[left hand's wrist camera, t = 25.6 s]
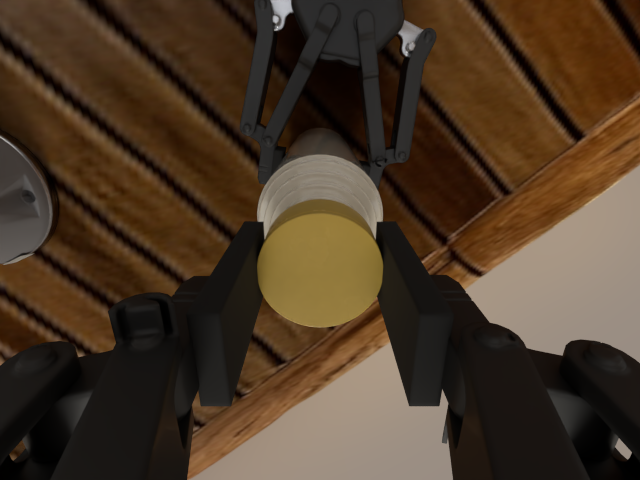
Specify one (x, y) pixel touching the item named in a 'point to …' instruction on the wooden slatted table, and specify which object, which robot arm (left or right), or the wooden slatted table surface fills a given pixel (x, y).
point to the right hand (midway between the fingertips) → (310, 225)
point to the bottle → (320, 179)
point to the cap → (320, 264)
